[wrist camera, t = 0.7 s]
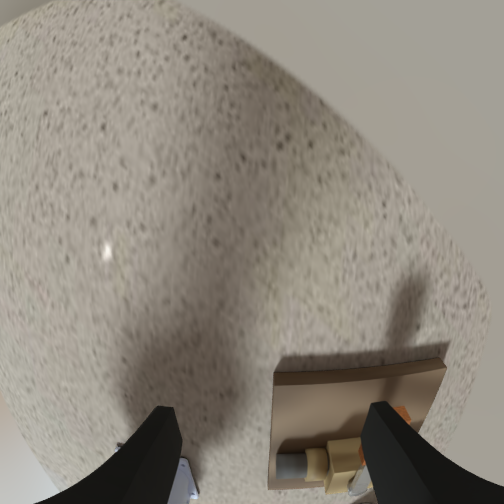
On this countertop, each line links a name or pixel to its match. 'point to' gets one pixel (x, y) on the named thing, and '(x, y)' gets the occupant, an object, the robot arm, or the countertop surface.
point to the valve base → (338, 418)
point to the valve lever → (362, 475)
